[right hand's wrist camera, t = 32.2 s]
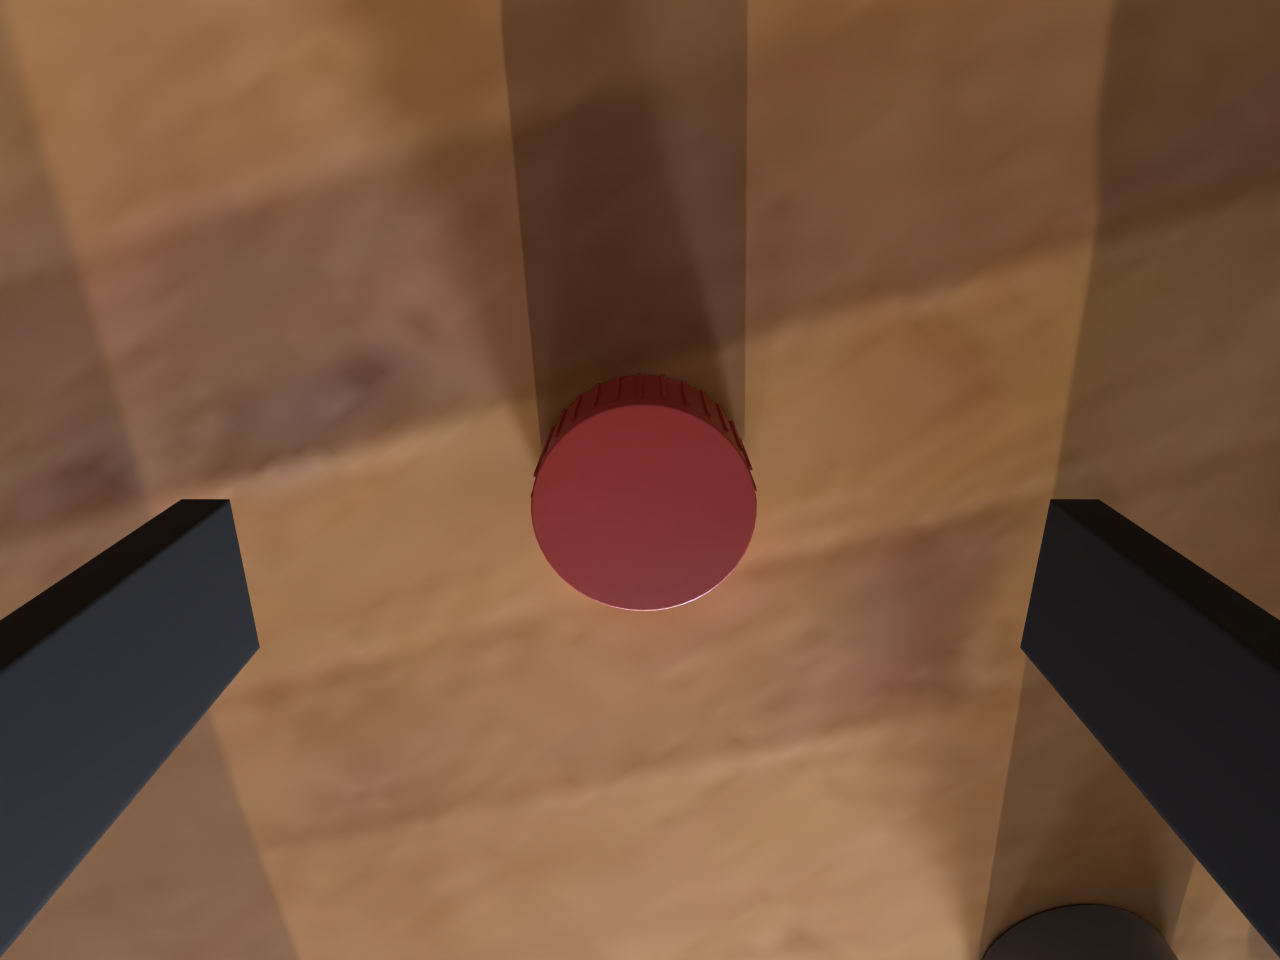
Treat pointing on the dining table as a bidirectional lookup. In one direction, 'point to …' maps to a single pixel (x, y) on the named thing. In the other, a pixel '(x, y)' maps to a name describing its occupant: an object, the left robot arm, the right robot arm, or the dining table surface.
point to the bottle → (1082, 937)
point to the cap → (643, 494)
